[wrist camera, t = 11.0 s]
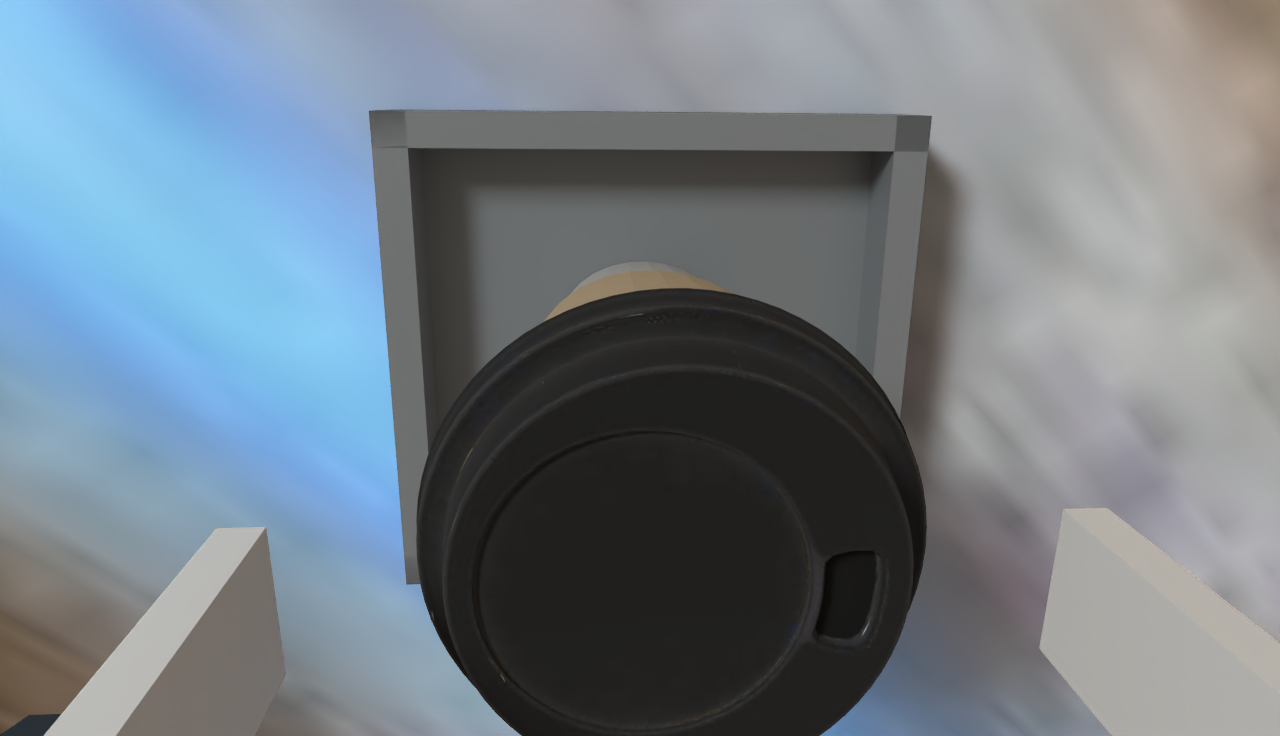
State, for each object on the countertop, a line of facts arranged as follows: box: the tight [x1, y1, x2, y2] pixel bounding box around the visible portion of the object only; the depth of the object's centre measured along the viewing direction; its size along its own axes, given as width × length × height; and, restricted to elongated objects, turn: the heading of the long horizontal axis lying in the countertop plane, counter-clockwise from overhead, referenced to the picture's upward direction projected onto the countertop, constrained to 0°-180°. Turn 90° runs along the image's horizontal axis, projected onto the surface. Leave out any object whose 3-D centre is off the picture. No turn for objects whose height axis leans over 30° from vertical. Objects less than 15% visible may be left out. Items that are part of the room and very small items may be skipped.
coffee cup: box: [416, 261, 927, 736], centre depth 22 cm, size 9×9×15 cm
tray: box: [369, 110, 932, 584], centre depth 28 cm, size 16×15×3 cm
